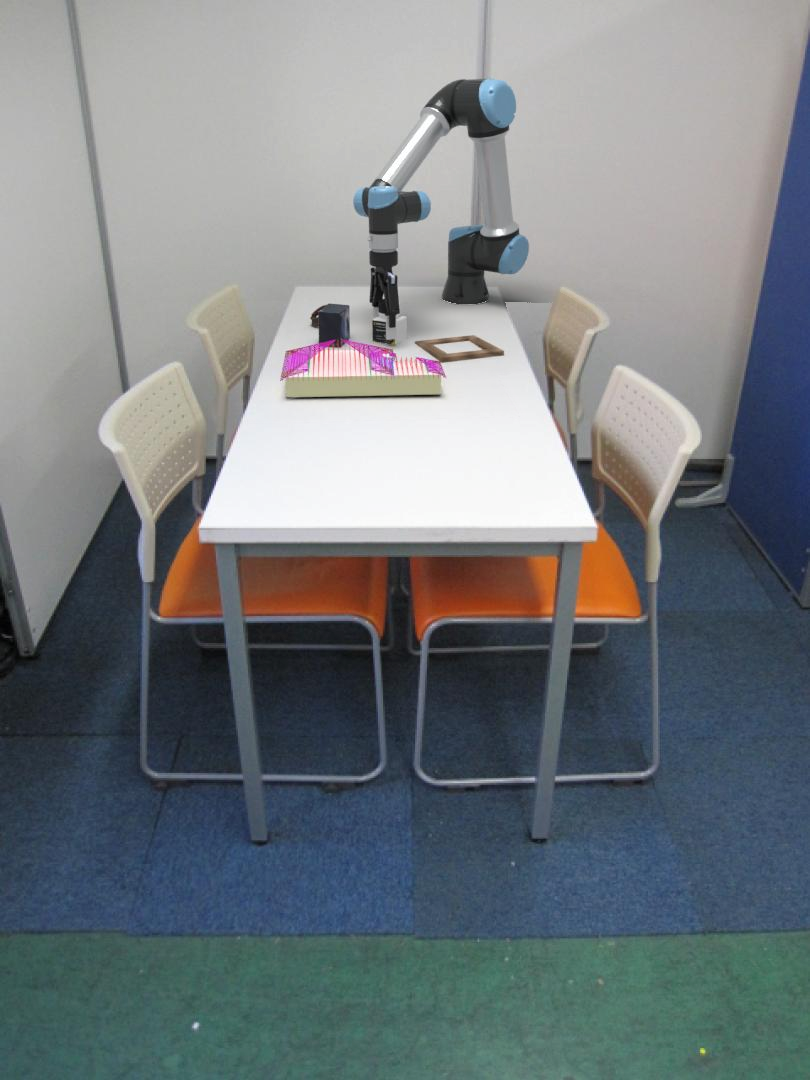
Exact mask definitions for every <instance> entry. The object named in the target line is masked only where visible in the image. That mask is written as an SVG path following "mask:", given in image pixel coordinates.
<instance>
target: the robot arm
mask: <svg viewBox="0 0 810 1080" xmlns="http://www.w3.org/2000/svg"><path fill="white" fill-rule="evenodd" d="M516 112H517V101H516V95H515V93H514V90H513V88H512V87H511V86H510V85H509V84H508V83H507V81H505V80H501V79H495V78H477V79H476V78H475V79H466V78H465V79H464V78H463V79H462V78H461V79H456V80H453V81H451V82H449V83H448V84H446V85H445V86H443V87H442V88H441V89H439V90H438V91H437V92H436V93H435V94H434V95H433V96H432V97H430V99H429V100H428V101H427V102H426V104H425V106H423V108H422V109H421V110H420V114H419V117H420V118H418V121H416V124H415V125H414V126H413V128H412V129H411V130H410V131H409V133H408V134H407V135H406V137H405V138H404V140H403V141H402V143H400V145H399V146H398V148H397V149H396V151H395V152H394V154H393V155H392V156H391V157H390V159H389V160H388V162H387V163H386V164H385V166H384V167H383V168H382V169H381V171H380V172H379V174H378V175H376V177H375V179H374V181H373V182H372V183H371V185H370V186H369V187H367V186H364V187H361V188H359V189H358V190H356V192H355V193H354V196H353V208H354V210H355V212H356V213H357V214H358V215H359V216H361V217H364V218H368V237H367V241H368V242H369V243H368V244H369V247H368V248H369V249H370V251H369V257H368V258H369V265H370V266H371V267H370V287H369V303H370V304H371V306H372V319H374V318H376V317H379V316H380V315H379V309H378V302H379V301H380V300H382V299H385V304H386V309H387V313H386V314H385V316H386V339H387V340H390V339H396V315H397V314H400V308H399V301H400V300H399V299H400V298H399V290H398V289H399V288H398V287H399V286H398V275H397V274H394V273H393V268H394V267H396V266H398V264H399V254H398V253H399V252H398V250H397V249H398V248H399V232H398V230H399V229H398V226H399V225H401V224H406V223H418V222H419V221H423V220H425V219H428V217H429V215H430V212H431V209H432V208H431V205H432V203H431V200H430V197H429V196H428V195H427V193H426V192H424V191H422V190H412V191H404V188H405V186H407V184H408V183H409V181H410V180H411V178H413V176H414V174H415V173H416V172H417V171H418V169H419V167H420V166H421V165H422V163H423V162H424V161H425V159H426V158H427V157H428V155H429V154H430V152H431V151H432V150H433V149H434V147H435V145H436V144H437V143H438V142H439V140H440V139H441V137H442V138H444V137H447V135H449V133H450V132H451V130H452V129H454V128H456V127H459V126H463V127H466V130H467V137H468V138H469V139H470V140H471V141H472V142H473V143H474V149H475V158H476V167H477V175H478V182H479V184H478V185H479V191H480V198H481V199H480V200H481V206H482V209H481V210H482V216H483V224H476V225H475V224H473V225H464V226H456V227H452V228H451V229H450V230H449V232H448V233H449V234H448V241H447V278H446V281H445V284H444V287H443V291H442V294H441V300H442V299H443V300H445V301H448V302H451V303H450V304H452V303H456V304H455V305H459V304H476V305H479V304H478V303H482V302H485V301H487V300H488V299H490V298H489V297H490V294H489V290H488V285H487V283H486V279H485V272H490V273H491V272H492V273H494V274H495V273H497V274H501V275H515V274H517V273H519V271H521V269H522V268H524V265H525V263H526V261H527V259H528V257H529V251H530V244H529V239H528V238H527V237H526V236H525V235H523V234H520V225H519V223H517V222H516V221H515V220H514V217H513V207H512V206H513V205H512V197H511V188H510V187H511V186H510V177H509V166H508V157H507V148H506V135H507V134H508V133H509V131H510V126H511V124H512V123H513V121H514V119H515V117H516V116H515V114H516ZM443 300H442V301H443ZM445 301H444V302H445ZM488 301H489V300H488ZM488 301H487V302H488ZM448 302H447V303H448ZM482 304H483V303H482Z"/></svg>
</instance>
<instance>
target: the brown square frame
mask: <svg viewBox="0 0 810 1080" xmlns="http://www.w3.org/2000/svg"><path fill="white" fill-rule="evenodd" d="M463 342H470V343H471V344H473V345H475V346H477V347H478V348H480V349H477V350H471V351H470V350H469V351H462V352H461V351H460V352H451V353H447V352H445V351H444V350H442V349H440V348H439V347H437V346H436V345H443V344H452V343H463ZM414 345H416V346H417V347H419V348H421V349H422V350H424V352H426V353H427V354H429V355H430V356H432V357H433V358H435V359H436V361H440V362H441V364H442V363H452V362H458V361H459V362H460V361H469V360H475V359H484V358H485V359H486V358H492V357H500V356H501V357H502V356H504V355H505V350H504V349H501V348H499V347H497V346H495V345H493V344H492V343H490V342H488V341H486V340H484V339H482V338H481V337H478V336H477V335H473V334H472V335H463V336H462V335H461V336H451V337H444V338H443V337H442V338H434V339H433V338H432V339H424V340H423V339H422V340H414Z"/></svg>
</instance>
